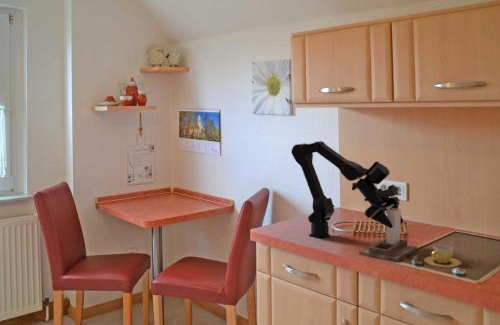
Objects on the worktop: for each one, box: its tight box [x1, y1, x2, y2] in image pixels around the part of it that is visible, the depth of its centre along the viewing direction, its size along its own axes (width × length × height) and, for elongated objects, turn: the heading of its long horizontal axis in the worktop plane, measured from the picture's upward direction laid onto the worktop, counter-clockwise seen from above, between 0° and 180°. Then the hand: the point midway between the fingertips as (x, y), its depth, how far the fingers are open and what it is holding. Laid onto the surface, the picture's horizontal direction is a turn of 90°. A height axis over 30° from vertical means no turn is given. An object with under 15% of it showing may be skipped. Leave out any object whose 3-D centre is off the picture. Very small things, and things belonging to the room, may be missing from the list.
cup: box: [423, 244, 462, 268], centre depth 174 cm, size 12×12×5 cm
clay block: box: [386, 208, 402, 245], centre depth 188 cm, size 3×5×14 cm, turn 141°
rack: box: [358, 238, 418, 263], centre depth 185 cm, size 14×18×3 cm
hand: (397, 224), depth 187 cm, fingers open, 9 cm apart
